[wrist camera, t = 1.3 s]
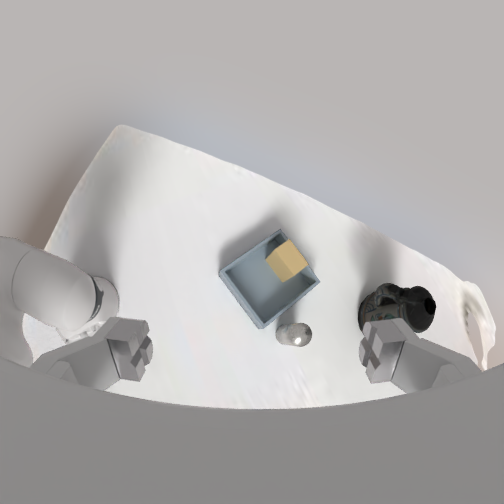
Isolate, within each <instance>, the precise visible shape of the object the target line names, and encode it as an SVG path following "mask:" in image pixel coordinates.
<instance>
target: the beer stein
mask: <svg viewBox="0 0 504 504" xmlns="http://www.w3.org/2000/svg"><path fill="white" fill-rule="evenodd" d="M435 310H436V304H435V301H434V300H433V298H432V296H431V294H430V293H429V292H428V291H427V290H426V289H425V288H423V287H421V286H415V287H412V288H411V289H410V288H400V287H398V286H397V285H394V284H391V283H386V284H382V285H381V286H379V287H378V289H377V290H376V291H375V292H373V293H372V294H370V295H369V296H367V297H366V298H365V300H364V301H363V302H362V303H361V306H360V308H359V312H358V323H359V327H360V330H361V331H362V333H363V328H364V325H365V323H366V322H371V321H381V320H389V319H396V318H401V319H403V320H404V321H405V322H406V323H407V324H408V326H409V327H410V328H411V329H412V330H413V332H416V333H421V332H423V331H425V330H427V329H428V328H429V326H430V325H431V323H432V321H433V318H434V315H435ZM363 335H364V334H363ZM364 336H365V335H364Z"/></svg>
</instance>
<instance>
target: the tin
mask: <svg viewBox="0 0 504 504" xmlns="http://www.w3.org/2000/svg"><path fill="white" fill-rule="evenodd" d="M311 338H312V331H311V329H310V327H309V326H308V325H306V324H304V323H297V324H286V325H282V326H280V327H279V328H278V329H277V331H276V339H277V340H278V342H279V343H281V344H284V345H291V346H299V347H302V346H305V345H307V344H308V343H309V342H310V340H311Z"/></svg>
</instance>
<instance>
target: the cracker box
mask: <svg viewBox="0 0 504 504" xmlns="http://www.w3.org/2000/svg"><path fill="white" fill-rule="evenodd" d="M265 260H266V262H267V263H268V264H269V266H270V267H271V268H272V270H273V271H274V272H275V274H276V275H277V276H278V278H279V279H280V280H281V282H282V283H283V282H285V281H286V280H288V279H290V278H291V277H293V276H295V275H296V274H297V273H298V272H300V271H301V270H302V269H303V268H305V267H306V266H307V265H308V263H307V261H306V260H305V259H304V257H303V256H302V255H301V253H300V252H299V251H298V249H297V248H296V247H295V246H294V244H293V243H292V242H291V240H290V239H289V240H287V241H286V242H285V243H283V244H282V245H280V246H279V247H278V248H276V249H275V250H274V251H273V252H272V253H271V254H270V255H269V256H268V257H267V258H266V259H265Z"/></svg>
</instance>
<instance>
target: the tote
mask: <svg viewBox="0 0 504 504" xmlns="http://www.w3.org/2000/svg"><path fill="white" fill-rule="evenodd" d="M287 240H288V238H287V237H286V236H285V234H284V233H283V232H282V230H281V229H280V230H278V231H277V232H275V233H274V234H272V235H271V236H270V237H268V238H267V239H265V240H264V241H262V242H261V243H259V244H258V245H256V246H255V247H254V248H252V249H251V250H249V251H248V252H246V253H245V254H243V255H242V256H241V257H239V258H238V259H236V260H235V261H233V262H232V263H230V264H229V265H227V266H226V267H225V268H223V269H222V270H220V272H219V277H220V278H221V279H222V281H223V282H224V283H225V285H226V286H227V288H228V289H229V290H230V292H231V293H232V294H233V296H234V297H235V298H236V300H237V301H238V302H239V304H240V305H241V306H242V308H243V309H244V310H245V312H246V313H247V314H248V316H249V317H250V318H251V320H252V321H253V322H254V324H255V325H256V326H257V328H258V329H264V328H265V327H266V326H267V325H269V324H270V323H271V322H272V321H274V320H275V319H276V318H277V317H279V316H280V315H281V314H282V313H284V312H285V311H286V310H287V309H289V308H290V307H291V306H292V305H294V304H295V303H296V302H297V301H298V300H300V299H301V298H302V297H303V296H304V295H306V294H307V293H308V292H309V291H310V290H312V289H313V288H314V287H315V286H316V285H318V284H319V283H320V281H319V279H318V278H317V277H316V275H315V274H314V273H313V271H312V270H311V269H310V267H309V266H308V265H307V266H306V267H305V268H303V269H302V270H301V271H300V272H298V273H297V274H296V275H295V276H293V277H291V278H290V279H288V280H286V281H285V282H283V283H282V282H281V280H280V279H279V278H278V276H277V275H276V274H275V272H274V271H273V270H272V268H271V267H270V266H269V264H268V263H267V262H266V260H265V259H266V258H267V257H268V256H269V255H270V254H271V253H272V252H273V251H274V250H275V249H276V248H278V247H279V246H280V245H282V244H283V243H285V242H286V241H287Z"/></svg>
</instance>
